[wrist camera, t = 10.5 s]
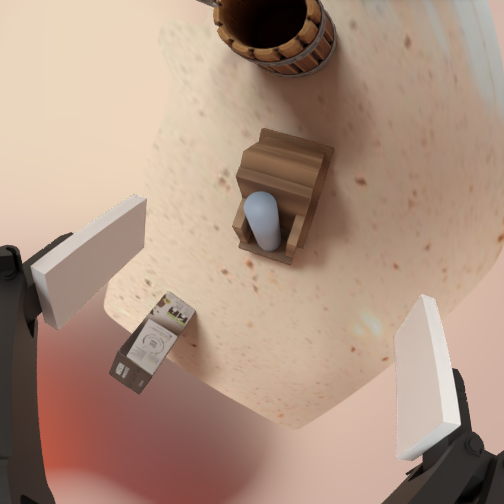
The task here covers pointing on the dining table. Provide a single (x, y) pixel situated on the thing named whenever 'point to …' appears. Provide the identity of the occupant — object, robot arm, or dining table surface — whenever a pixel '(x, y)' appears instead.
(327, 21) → the mug
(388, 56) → the dining table surface
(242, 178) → the socket block
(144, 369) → the coffee box
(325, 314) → the dining table surface
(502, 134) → the dining table surface
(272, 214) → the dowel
